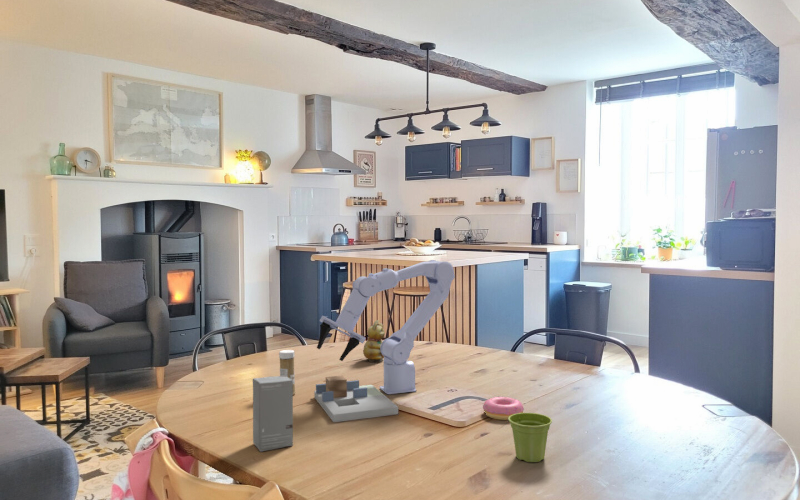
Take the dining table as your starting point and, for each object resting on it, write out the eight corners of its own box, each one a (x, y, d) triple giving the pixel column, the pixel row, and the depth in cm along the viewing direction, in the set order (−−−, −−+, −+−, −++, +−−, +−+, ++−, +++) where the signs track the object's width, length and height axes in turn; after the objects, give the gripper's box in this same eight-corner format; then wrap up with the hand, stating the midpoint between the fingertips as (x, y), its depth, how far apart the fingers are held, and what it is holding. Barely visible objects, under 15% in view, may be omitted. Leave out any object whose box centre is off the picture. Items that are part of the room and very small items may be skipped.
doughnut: (526, 411, 167) (526, 396, 167) (520, 424, 157) (520, 408, 156) (487, 407, 171) (487, 392, 170) (479, 419, 160) (478, 404, 160)
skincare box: (259, 452, 139) (258, 384, 138) (252, 442, 145) (250, 377, 144) (295, 446, 143) (294, 379, 142) (286, 436, 149) (285, 372, 148)
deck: (372, 391, 188) (371, 376, 187) (398, 414, 165) (398, 397, 165) (314, 397, 182) (314, 382, 181) (333, 422, 159) (333, 405, 159)
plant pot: (503, 450, 138) (503, 412, 138) (544, 448, 139) (544, 411, 139) (514, 467, 129) (514, 426, 129) (558, 465, 130) (558, 425, 130)
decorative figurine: (384, 363, 224) (384, 322, 223) (362, 363, 224) (361, 323, 223) (385, 357, 233) (385, 318, 233) (364, 357, 234) (363, 318, 233)
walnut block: (342, 392, 180) (342, 375, 179) (346, 396, 175) (346, 379, 175) (325, 393, 178) (325, 377, 178) (329, 398, 173) (329, 381, 173)
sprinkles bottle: (297, 395, 184) (296, 351, 183) (283, 397, 182) (282, 353, 181) (291, 391, 188) (290, 348, 187) (277, 394, 185) (276, 350, 185)
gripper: (327, 300, 178) (305, 342, 176) (370, 322, 176) (348, 365, 174) (331, 303, 185) (310, 344, 183) (373, 325, 183) (352, 366, 181)
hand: (329, 354), depth 179 cm, fingers open, 7 cm apart
